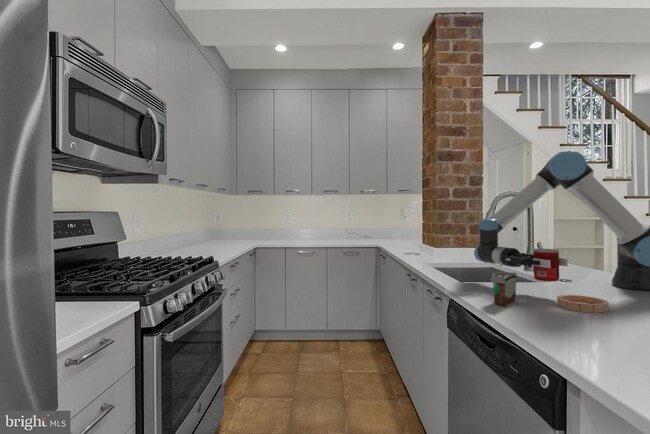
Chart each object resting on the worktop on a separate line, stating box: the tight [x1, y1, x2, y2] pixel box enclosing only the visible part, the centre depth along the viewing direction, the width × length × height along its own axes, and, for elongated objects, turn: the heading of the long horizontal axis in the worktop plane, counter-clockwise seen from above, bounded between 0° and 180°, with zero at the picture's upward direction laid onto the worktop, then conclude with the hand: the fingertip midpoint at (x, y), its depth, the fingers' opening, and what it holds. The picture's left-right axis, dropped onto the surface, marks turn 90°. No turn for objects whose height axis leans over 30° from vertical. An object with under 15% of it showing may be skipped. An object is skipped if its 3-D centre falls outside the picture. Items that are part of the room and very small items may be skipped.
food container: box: [490, 271, 518, 308], centre depth 124 cm, size 12×6×10 cm, turn 134°
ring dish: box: [556, 294, 610, 313], centre depth 118 cm, size 13×13×2 cm
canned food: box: [532, 248, 560, 282], centre depth 131 cm, size 8×8×11 cm
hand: (558, 263), depth 127 cm, fingers closed on canned food, 8 cm apart
